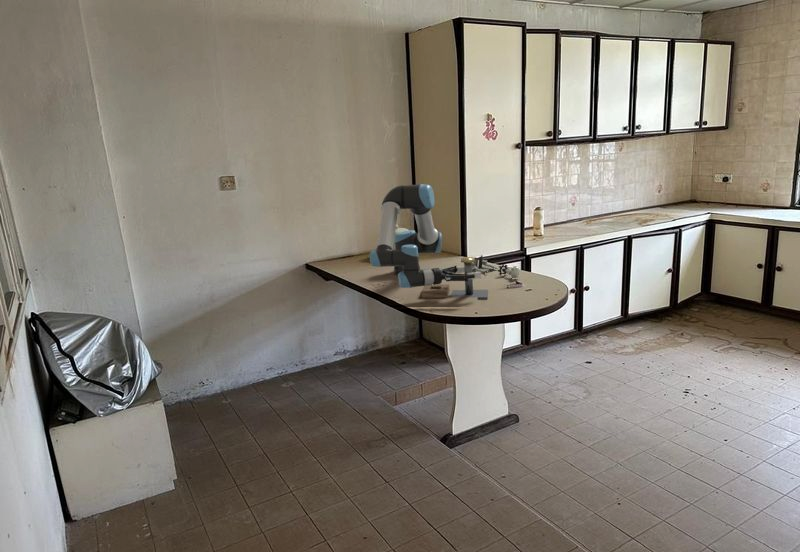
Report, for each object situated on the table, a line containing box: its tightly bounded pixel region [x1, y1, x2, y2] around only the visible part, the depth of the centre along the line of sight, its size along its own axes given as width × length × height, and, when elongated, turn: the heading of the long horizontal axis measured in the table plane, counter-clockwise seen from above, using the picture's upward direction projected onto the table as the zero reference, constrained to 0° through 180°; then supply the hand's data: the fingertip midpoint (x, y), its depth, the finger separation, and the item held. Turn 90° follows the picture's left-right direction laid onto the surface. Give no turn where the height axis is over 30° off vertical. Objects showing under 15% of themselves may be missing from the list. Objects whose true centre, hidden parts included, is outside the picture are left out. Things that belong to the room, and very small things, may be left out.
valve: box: [497, 263, 520, 278], centre depth 292 cm, size 7×7×12 cm
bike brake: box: [472, 254, 499, 275], centre depth 312 cm, size 14×7×20 cm
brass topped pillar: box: [460, 256, 476, 295], centre depth 262 cm, size 6×6×17 cm
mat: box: [450, 289, 489, 300], centre depth 265 cm, size 13×17×1 cm
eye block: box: [421, 283, 450, 299], centre depth 268 cm, size 12×12×4 cm
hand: (475, 271), depth 262 cm, fingers open, 13 cm apart
